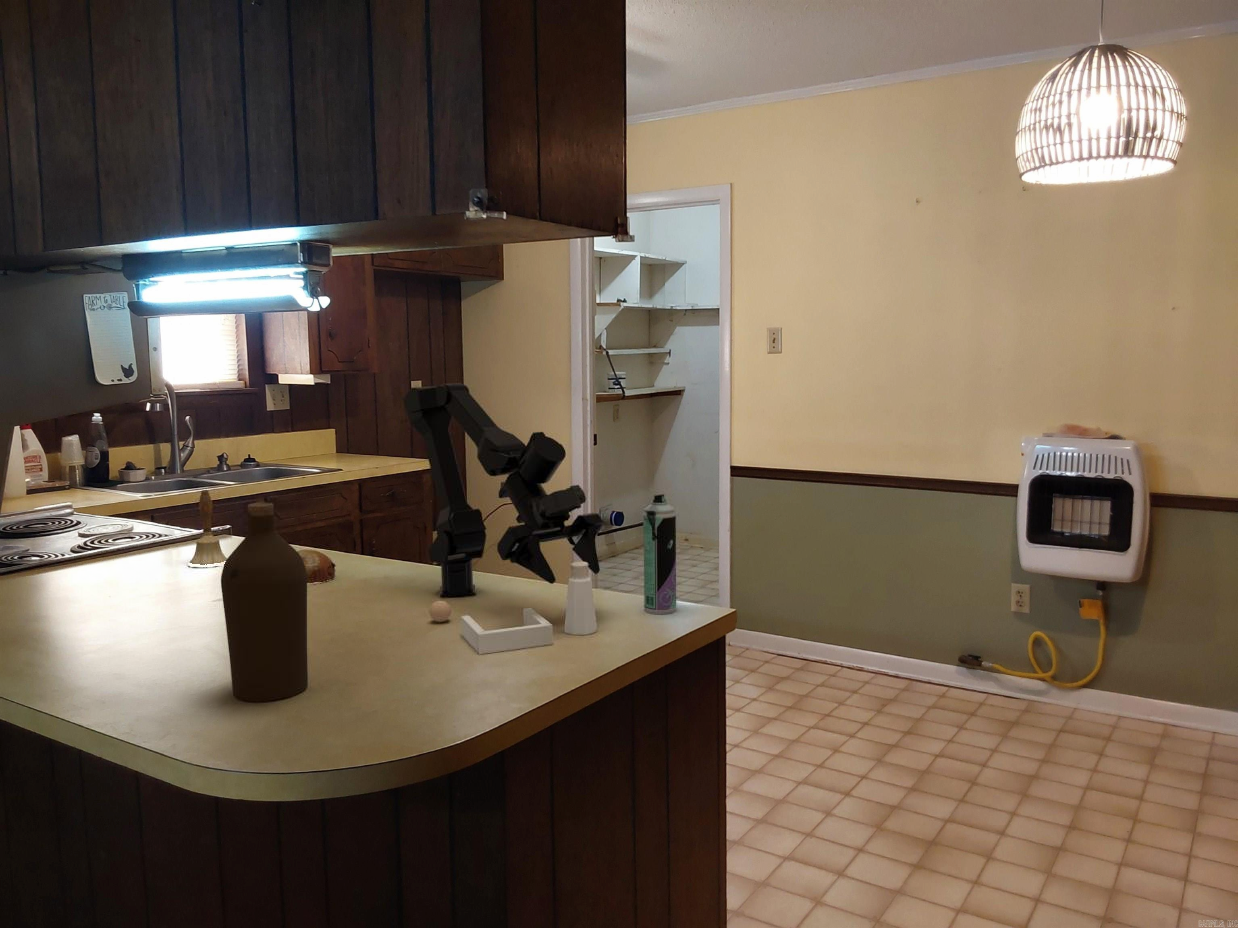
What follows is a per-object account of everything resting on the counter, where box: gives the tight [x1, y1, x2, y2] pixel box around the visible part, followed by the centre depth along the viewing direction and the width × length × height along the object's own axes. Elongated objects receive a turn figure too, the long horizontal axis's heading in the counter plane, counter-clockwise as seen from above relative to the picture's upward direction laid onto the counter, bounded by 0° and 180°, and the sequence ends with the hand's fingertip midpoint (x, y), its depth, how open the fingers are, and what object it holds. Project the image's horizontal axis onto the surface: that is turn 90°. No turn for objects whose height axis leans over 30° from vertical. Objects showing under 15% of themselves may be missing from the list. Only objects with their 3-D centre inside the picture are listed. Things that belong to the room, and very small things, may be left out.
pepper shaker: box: [564, 560, 598, 636], centre depth 152 cm, size 5×5×11 cm
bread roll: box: [296, 549, 336, 583], centre depth 189 cm, size 10×10×8 cm
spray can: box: [642, 493, 677, 615], centre depth 163 cm, size 6×6×20 cm
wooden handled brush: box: [189, 489, 228, 565], centre depth 204 cm, size 8×8×16 cm
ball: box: [429, 600, 452, 623], centre depth 159 cm, size 4×4×4 cm
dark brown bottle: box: [220, 501, 309, 703], centre depth 126 cm, size 11×11×25 cm
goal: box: [460, 607, 554, 655], centre depth 149 cm, size 11×11×3 cm
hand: (576, 577), depth 153 cm, fingers open, 9 cm apart
